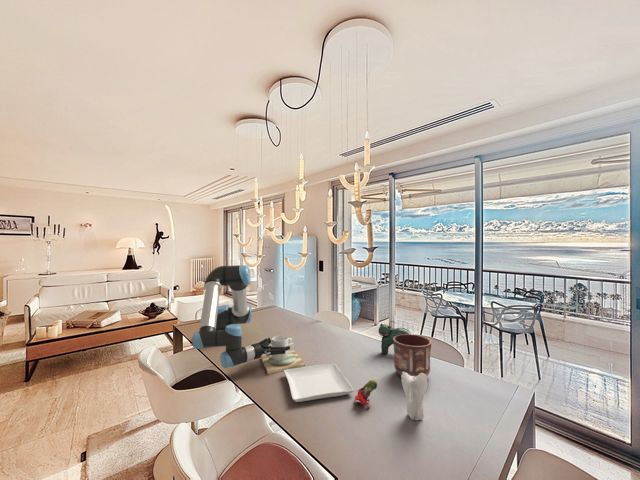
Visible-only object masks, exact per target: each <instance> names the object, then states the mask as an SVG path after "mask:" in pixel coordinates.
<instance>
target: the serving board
mask: <svg viewBox="0 0 640 480" xmlns="http://www.w3.org/2000/svg"><path fill="white" fill-rule="evenodd" d="M260 359H261V362H262V363H263V366H264V368H265V372H266V373H267V375H269V374H274V373H275V374H276V373H281V372H284V370H287V369H294V368H300V367H306V363H305V362H304V360H303V359H302V358H301V357H300V356H299V354H298V353H297V352H296V350H294V349H293V350H290V351H289V352H288V357H287V359H286V360H283V361H275V360H274V359H273V358H272V355H270V356H266V354H262V356H261V358H260Z"/></svg>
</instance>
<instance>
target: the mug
mask: <svg viewBox="0 0 640 480" xmlns="http://www.w3.org/2000/svg"><path fill="white" fill-rule="evenodd" d="M271 339H272V344H271V346H272V347H283V346H285V345H288V344H292V343H293V338H292V337H288V336H287V335H275V336H273V337H272V338H271ZM289 341H290V343H289ZM289 351H291V350H287V351H285V354H277V355H272V358H273V359H274V360H275V361H283V360H286V359H287V357H288V352H289Z"/></svg>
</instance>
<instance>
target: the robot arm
mask: <svg viewBox="0 0 640 480" xmlns="http://www.w3.org/2000/svg"><path fill="white" fill-rule="evenodd" d="M251 277H252V276H251V271H250V267H249V266H248V265H242V264H240V265H220V266H217V267H215V268H214V269H213V270H211V271H210V272H209V273H208V275H207V276H206V278H205V280H204V284H203V289H204V290H205V291H204V296H203V297H204V298H203V303H202V308H201V309H202V310H201V311H202V312H201V315H200V321H199V322H200V324H199V331H197V332H196V331H195V332H194V333H193V336H192V348H194V349H209V348H219V347H225V351H223V352H221V353H220V357H219V358H220V364H221V366H222V367H223V369H228V368H232V367H233V368H234V367H235V366H238V365H241V364H245V363H249V362H251V361H253V360H254V361H255V360H257V359H261V356H263V355H266V356H270V355H277V354H285V351H287V350H290V351H292V350H294V349H295V343H294V342H292V344H290V343H288V345H285V346H283V347H272V338H271V337H267V338H264V339H263V340H261V341H259V342H256V343H253V344H248V345H245V346H242V343H243V342H242V341H243V340H242V339H243V337H242V326H241V325H242V324H243V325H245V324H249V323H250V322H252V313H253V312H252V311H253V310H252V306H251V305H249V304H248V297H247V296H248V295H247V288H248V286H249V285H251V281H252V280H251V279H252V278H251ZM224 286H225V287H229V289H230V290H231V293H232V294H231V295H232V302H233V303H232V304H233V305H232V306H231V307H230V305H228V304H223V305H222V304H221V305H219V302H220V293H221V290H222V289H223V287H224Z"/></svg>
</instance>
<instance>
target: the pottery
mask: <svg viewBox="0 0 640 480" xmlns="http://www.w3.org/2000/svg"><path fill="white" fill-rule="evenodd" d="M392 345H393V353H394V354H393V355H394V356H393V359H394V362H393V363H394V369H395V371H396V373H397V374H398V375H399V376H400V377H401V375H402V374H403V373H402V372H405V373H406V372H407V373H408V374H409V375H410V376H414V377H416V376H418V375H419V374H420V373H424V374H425V375H426V376H427V377H428V376H429V375H430V374H431V373H430V372H431V352H432V351H431V350H432V340H431V339H429V338H427V337H424V336H422V335H418V334H412V333H411V334H410V333H409V334H402V335H397V336H395V337H394V338H393V344H392Z"/></svg>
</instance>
